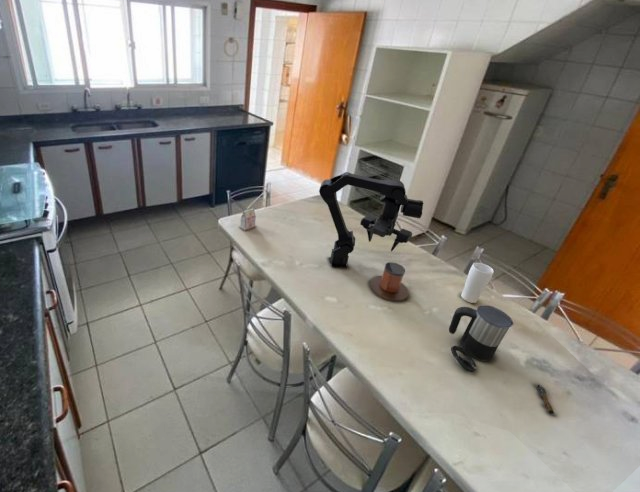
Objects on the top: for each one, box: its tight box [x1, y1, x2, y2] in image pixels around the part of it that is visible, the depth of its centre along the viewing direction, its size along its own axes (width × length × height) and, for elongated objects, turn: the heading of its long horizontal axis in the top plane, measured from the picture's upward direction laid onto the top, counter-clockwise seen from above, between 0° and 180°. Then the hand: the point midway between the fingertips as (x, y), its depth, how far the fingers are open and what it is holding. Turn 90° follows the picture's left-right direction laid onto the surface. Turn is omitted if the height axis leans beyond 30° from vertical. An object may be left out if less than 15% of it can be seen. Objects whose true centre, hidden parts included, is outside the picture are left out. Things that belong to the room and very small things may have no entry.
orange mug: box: [380, 261, 406, 293], centre depth 127 cm, size 9×7×9 cm
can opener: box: [536, 384, 555, 414], centre depth 91 cm, size 9×2×1 cm, turn 152°
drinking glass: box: [460, 262, 495, 304], centre depth 124 cm, size 7×7×15 cm
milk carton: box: [239, 207, 257, 231], centre depth 166 cm, size 4×7×10 cm, turn 129°
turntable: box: [369, 275, 409, 303], centre depth 130 cm, size 14×14×1 cm
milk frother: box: [448, 304, 514, 372], centre depth 100 cm, size 14×16×15 cm
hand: (380, 246), depth 134 cm, fingers open, 9 cm apart
